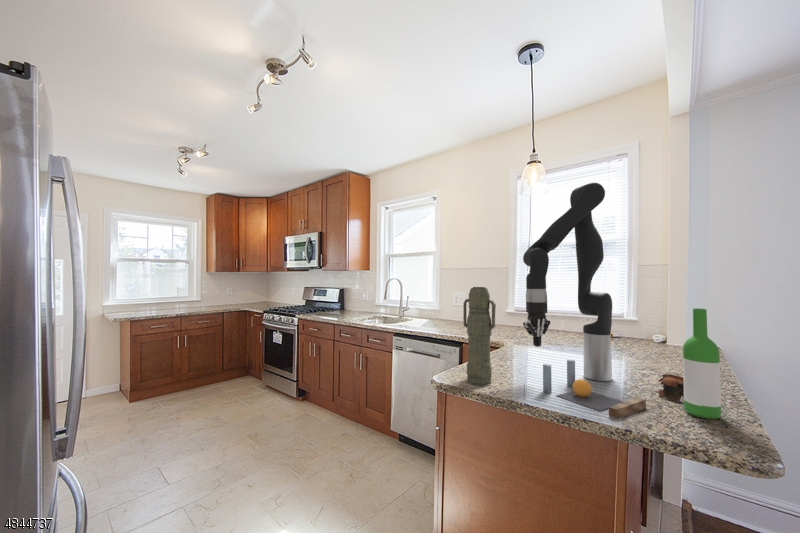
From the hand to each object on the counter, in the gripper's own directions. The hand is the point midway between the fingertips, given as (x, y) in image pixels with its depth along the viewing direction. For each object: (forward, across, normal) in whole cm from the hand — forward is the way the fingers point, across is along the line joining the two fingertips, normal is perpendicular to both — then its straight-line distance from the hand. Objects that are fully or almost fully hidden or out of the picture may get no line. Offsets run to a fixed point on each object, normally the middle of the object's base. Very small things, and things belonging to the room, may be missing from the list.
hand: (537, 346), depth 124 cm
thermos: (+12, -22, +8) cm, 26 cm away
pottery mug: (+14, +25, -34) cm, 44 cm away
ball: (+10, -2, -19) cm, 22 cm away
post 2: (+13, +4, -10) cm, 17 cm away
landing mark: (+12, -2, -22) cm, 25 cm away
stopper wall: (+12, -2, -33) cm, 35 cm away
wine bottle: (+13, +15, -43) cm, 48 cm away
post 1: (+12, -9, -11) cm, 19 cm away
